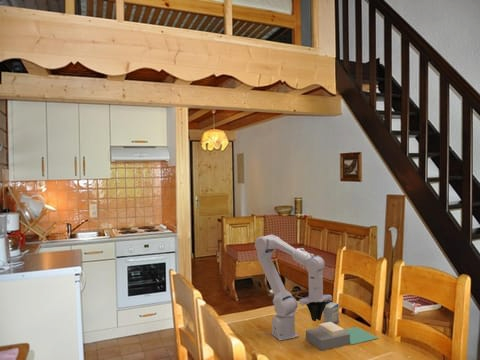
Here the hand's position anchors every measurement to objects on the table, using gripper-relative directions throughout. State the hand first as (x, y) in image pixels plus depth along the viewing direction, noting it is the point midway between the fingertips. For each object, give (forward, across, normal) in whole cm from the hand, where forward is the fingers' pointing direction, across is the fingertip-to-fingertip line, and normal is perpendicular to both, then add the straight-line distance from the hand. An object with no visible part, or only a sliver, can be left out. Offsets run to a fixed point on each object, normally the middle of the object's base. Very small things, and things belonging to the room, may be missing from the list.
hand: (316, 320), depth 150 cm
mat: (+10, +20, 0) cm, 22 cm away
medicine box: (+10, +20, +16) cm, 27 cm away
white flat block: (+6, +8, 0) cm, 10 cm away
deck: (+10, +6, 0) cm, 11 cm away
